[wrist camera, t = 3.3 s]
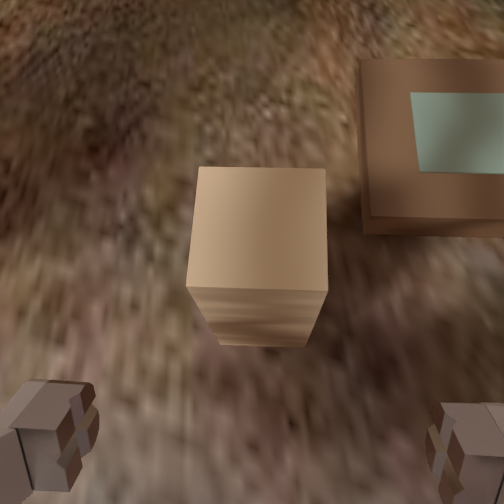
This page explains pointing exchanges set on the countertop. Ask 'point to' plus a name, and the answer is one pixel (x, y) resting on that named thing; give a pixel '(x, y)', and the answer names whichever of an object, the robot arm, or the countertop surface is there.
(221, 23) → the countertop surface
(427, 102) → the slab
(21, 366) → the countertop surface
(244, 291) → the pillar
